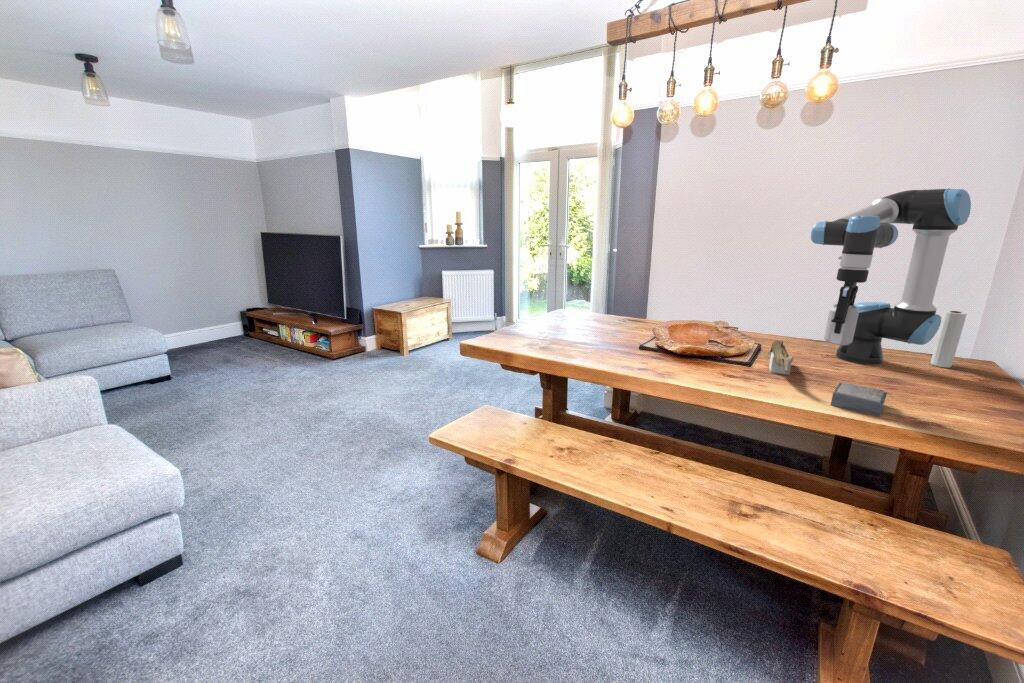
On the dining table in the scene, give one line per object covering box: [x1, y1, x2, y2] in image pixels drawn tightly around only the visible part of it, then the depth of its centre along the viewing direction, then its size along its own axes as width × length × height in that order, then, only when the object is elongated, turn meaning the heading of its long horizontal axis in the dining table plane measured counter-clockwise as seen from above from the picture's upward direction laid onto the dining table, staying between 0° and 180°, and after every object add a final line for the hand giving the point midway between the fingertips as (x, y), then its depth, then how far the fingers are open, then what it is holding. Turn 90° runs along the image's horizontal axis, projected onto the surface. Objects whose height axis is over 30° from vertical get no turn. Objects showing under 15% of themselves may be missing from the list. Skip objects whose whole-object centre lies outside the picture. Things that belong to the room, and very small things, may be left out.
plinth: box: [830, 381, 888, 417], centre depth 138 cm, size 12×12×5 cm
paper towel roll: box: [930, 310, 968, 369], centre depth 173 cm, size 7×6×21 cm
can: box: [823, 303, 859, 346], centre depth 142 cm, size 8×8×12 cm
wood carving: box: [764, 340, 794, 376], centre depth 165 cm, size 9×35×11 cm, turn 156°
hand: (837, 340), depth 143 cm, fingers closed on can, 7 cm apart
